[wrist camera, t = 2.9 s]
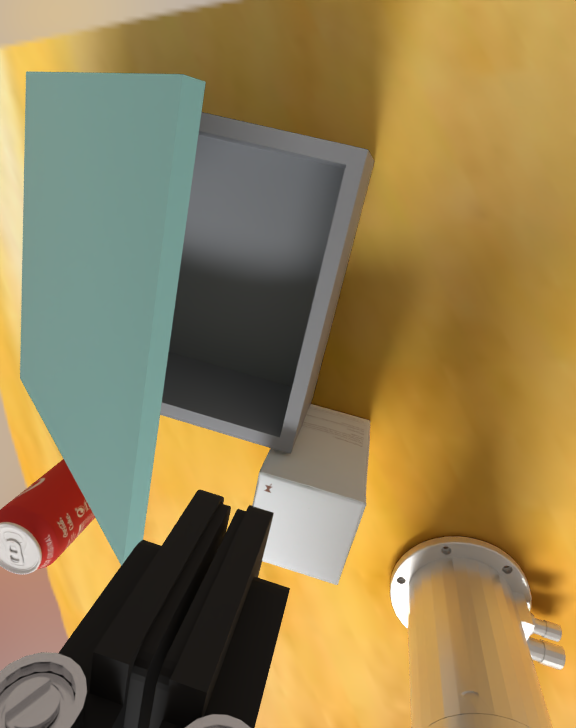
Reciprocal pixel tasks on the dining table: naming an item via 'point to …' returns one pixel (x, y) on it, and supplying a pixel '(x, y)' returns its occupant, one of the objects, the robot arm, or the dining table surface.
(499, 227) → the dining table surface
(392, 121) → the dining table surface
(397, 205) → the dining table surface
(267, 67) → the dining table surface
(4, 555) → the beverage can
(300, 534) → the supplement box
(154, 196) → the lid
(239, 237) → the box
